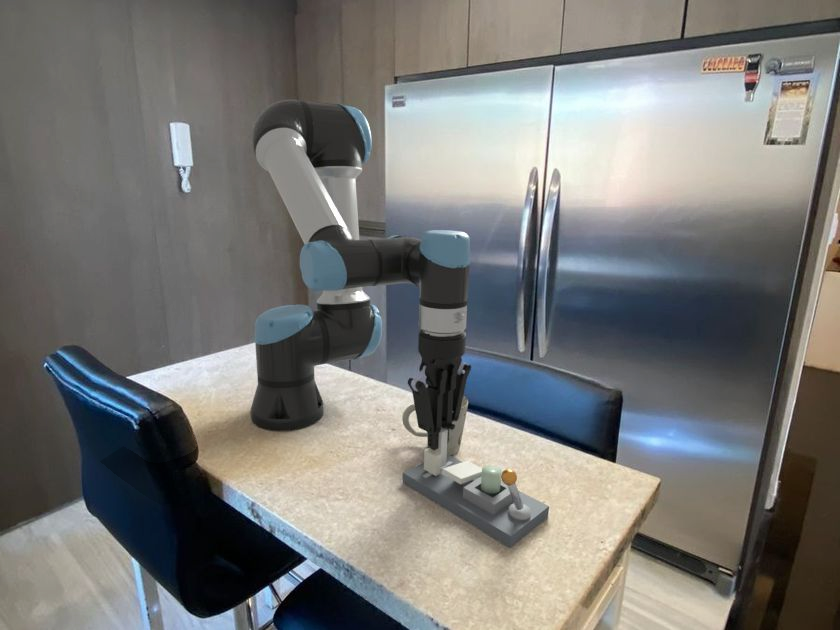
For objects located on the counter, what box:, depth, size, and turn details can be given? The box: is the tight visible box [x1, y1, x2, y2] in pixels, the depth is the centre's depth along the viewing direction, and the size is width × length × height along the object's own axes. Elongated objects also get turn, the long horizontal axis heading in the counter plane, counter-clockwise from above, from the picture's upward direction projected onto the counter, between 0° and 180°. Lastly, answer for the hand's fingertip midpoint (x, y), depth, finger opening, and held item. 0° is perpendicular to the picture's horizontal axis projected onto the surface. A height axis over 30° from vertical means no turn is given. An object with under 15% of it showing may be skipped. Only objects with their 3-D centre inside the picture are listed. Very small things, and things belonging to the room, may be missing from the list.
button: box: [481, 465, 503, 494], centre depth 80 cm, size 3×3×3 cm
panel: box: [402, 454, 550, 549], centre depth 83 cm, size 22×10×4 cm, turn 45°
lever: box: [501, 468, 523, 510], centre depth 74 cm, size 2×2×8 cm
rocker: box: [442, 460, 483, 484], centre depth 84 cm, size 4×6×1 cm, turn 135°
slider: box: [423, 447, 441, 476], centre depth 87 cm, size 3×1×4 cm, turn 45°
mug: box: [401, 395, 469, 456], centre depth 99 cm, size 8×13×10 cm, turn 78°
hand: (437, 463), depth 88 cm, fingers closed
